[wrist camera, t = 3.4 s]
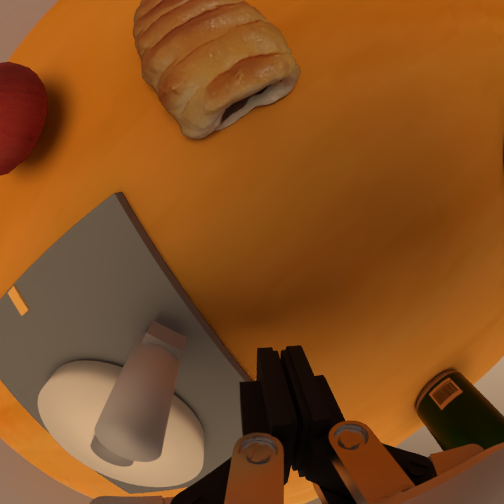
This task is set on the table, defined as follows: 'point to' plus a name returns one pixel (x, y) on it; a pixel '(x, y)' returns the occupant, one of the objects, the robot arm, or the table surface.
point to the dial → (127, 414)
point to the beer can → (459, 413)
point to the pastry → (211, 60)
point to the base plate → (115, 324)
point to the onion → (19, 113)
